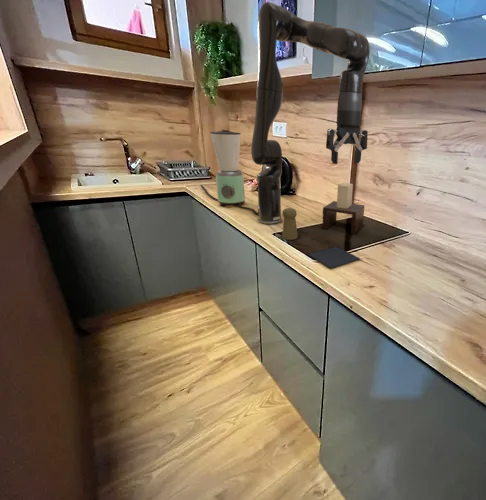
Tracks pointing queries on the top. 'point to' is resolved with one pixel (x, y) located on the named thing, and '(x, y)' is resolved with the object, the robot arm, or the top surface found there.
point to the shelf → (354, 210)
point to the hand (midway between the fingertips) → (345, 163)
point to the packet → (344, 195)
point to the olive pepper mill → (289, 224)
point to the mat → (333, 257)
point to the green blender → (228, 168)
